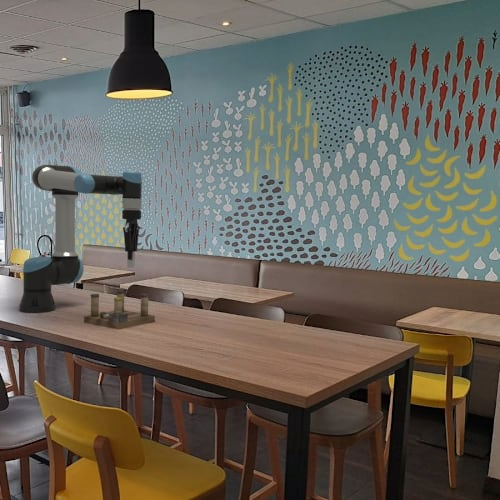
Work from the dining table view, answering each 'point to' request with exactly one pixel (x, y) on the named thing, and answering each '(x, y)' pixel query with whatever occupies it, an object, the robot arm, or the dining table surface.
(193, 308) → the dining table surface
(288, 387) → the dining table surface
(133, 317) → the stool seat
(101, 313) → the swing leg
